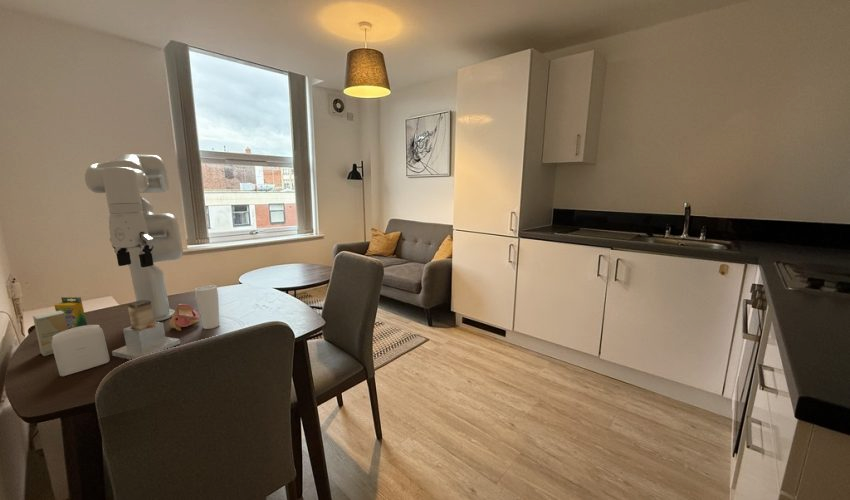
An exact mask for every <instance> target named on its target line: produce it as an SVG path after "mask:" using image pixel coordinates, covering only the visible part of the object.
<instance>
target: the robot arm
mask: <svg viewBox="0 0 850 500" xmlns="http://www.w3.org/2000/svg"><path fill="white" fill-rule="evenodd" d="M84 182H85V185H86V187H87V188H88V189H89V191H91V192H93V193H94V194H95V193H96V194H105V198H106V202H107V207H108V208H107V209H108V213H109V217H108V227H109V241H110V243H111V247H112V248H113V249H114V253H115V254H116V260H117V265H118V267H122V266H128V269H129V271H130V272H129V273H130V276H131V281H132V287H133V292H134V297H135V302H136V301H139V300H147V301H151V306H152V312H153V317H154V321H155V322H161V321H165V320H168V319H170V318H172V316H173V313H174V312H176V311H175V310H174V309H172V308H170V304H169V298H168V292H167V285H166V281H165V280H166V279H165V273H164V271H163V270H162V269H161V268H160V267H159V266H157V265H156V264H155V263H158V262H167V261H168V262H169V261H177V260H179V259H181V258H182V256H183V253H184V252H183V243H182V237H181V236H182V235H181V231H180V226H179V225H180V224H179V221H178V219H177V218H176V216H175V215H174V214H172V213H167V212H166V213H164V212H163V213H162V212H161V213H154V207H153V204H152V203H151V202H150V201H148V200H147V199H146V198H145V197H143V196H141V194H152V193H153V194H154V193H155V194H156V193H158V194H161V193H165V192H167V191H168V190H169V188H170V180H169V177H168V171H167V168H166V165H165V162H164V161H163V159H162V158H161V157H160V156H159V155H154V154H136V153H133V154H132V153H124V154H121V155H118V156H116V158H115V159H114V160H109V161H104V162H98V163H97V162H95V163H93V164H91V165H89V166H88V167H87V169H86V170H85V173H84Z"/></svg>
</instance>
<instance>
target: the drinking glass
mask: <svg viewBox="0 0 850 500" xmlns="http://www.w3.org/2000/svg"><path fill="white" fill-rule="evenodd" d="M194 295H195V301H196V305H197V308H198V309H197V310H198V312H199V313H198V314H199V318H200V321H201V326H202V328H203V329H204V330H211V329H215V328H217V327H218V326H220V324H221V323H220V310H219V309H220V307H219V305H220V304H219V291H218V286H217V285H215V284H209V285H207V284H206V285H202V286H199V287H198V286H197V287H195V289H194Z"/></svg>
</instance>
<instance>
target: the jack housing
mask: <svg viewBox="0 0 850 500" xmlns="http://www.w3.org/2000/svg"><path fill="white" fill-rule="evenodd" d="M154 323H155V325H148V326H147V328H145V329H142V330H136V329H132V326H131V325H130V326H127V327H124V328H123V329H122V331H123V336H124V341H125V345H124V346H121V347H119V348H117V349H114V350H112V351H111V354H112V356H113V357H118V358H121V359H125V358H126V359H127V360H130V361H132V360H131V359H134V358H137V357H139V356H142V355H146V354H149V353H152V352H156V351H160V350H164V349H167V348H169V349H171V348H173V347H175V346H178V345H180V344H181V340H180V338H175V337H169V336H166V332H165V326H164V322H161V321H158V322H155V321H154ZM167 350H168V349H167Z"/></svg>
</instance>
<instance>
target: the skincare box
mask: <svg viewBox="0 0 850 500" xmlns="http://www.w3.org/2000/svg"><path fill="white" fill-rule="evenodd" d="M32 319H33V324H34V328H35V333H36V336H37V337H36V338H37V343H38V346H39V347H38V348H39V351H40V354H41V355H42V356H43V357H46V356H49V355H52V354H53V355H54V352H53V348H52V339H53V337H52V336H54V335H56V334H58V333H60V332H62V331H65V330H68V328H67V323H66V318H65V313H64V312H63V311H62V310H61V311H56V310H55V311H51V312H47V313H42V314H37V315H34V316H32Z"/></svg>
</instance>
